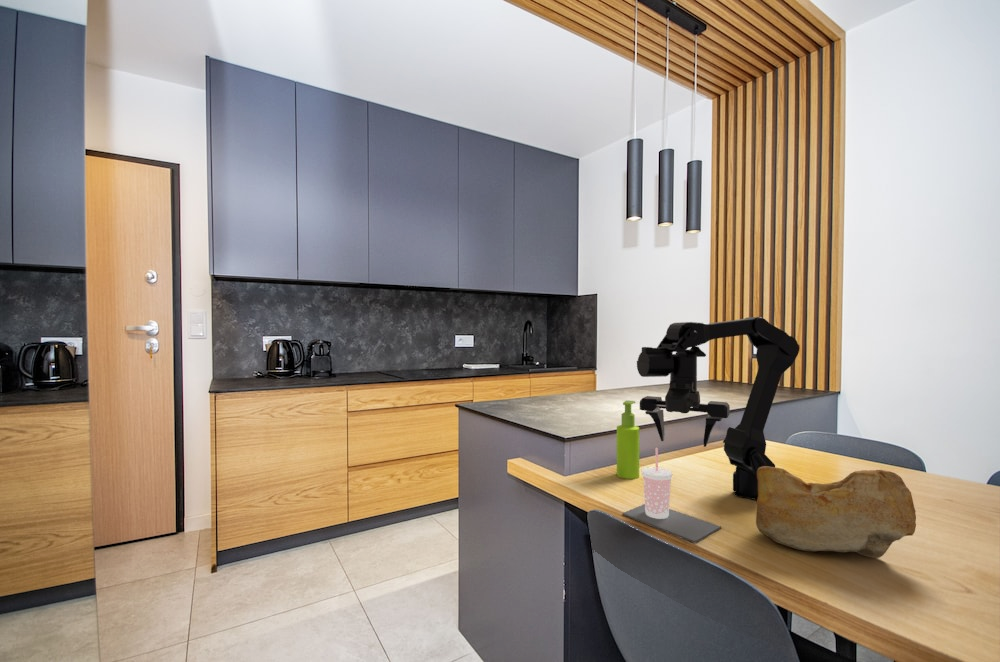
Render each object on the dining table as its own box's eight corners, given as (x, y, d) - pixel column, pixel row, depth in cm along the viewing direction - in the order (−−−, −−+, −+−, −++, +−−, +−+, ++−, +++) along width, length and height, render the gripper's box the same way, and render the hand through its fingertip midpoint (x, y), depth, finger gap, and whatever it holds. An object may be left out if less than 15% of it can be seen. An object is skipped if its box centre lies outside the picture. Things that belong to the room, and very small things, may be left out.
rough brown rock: (890, 540, 85) (884, 460, 86) (928, 575, 70) (921, 478, 71) (750, 521, 94) (747, 450, 96) (758, 549, 80) (754, 464, 81)
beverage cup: (649, 506, 98) (649, 442, 98) (677, 514, 93) (677, 447, 93) (636, 514, 93) (636, 447, 93) (664, 523, 89) (664, 453, 89)
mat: (721, 528, 87) (721, 526, 87) (695, 543, 81) (695, 541, 81) (649, 503, 100) (649, 501, 100) (622, 514, 94) (622, 513, 94)
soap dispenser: (642, 473, 122) (642, 400, 122) (635, 480, 116) (635, 404, 116) (621, 469, 125) (621, 398, 125) (613, 476, 119) (613, 402, 119)
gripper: (632, 376, 101) (632, 445, 101) (724, 382, 91) (724, 458, 91) (645, 373, 110) (645, 435, 110) (729, 377, 100) (729, 446, 100)
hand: (683, 443), depth 102 cm, fingers open, 9 cm apart
